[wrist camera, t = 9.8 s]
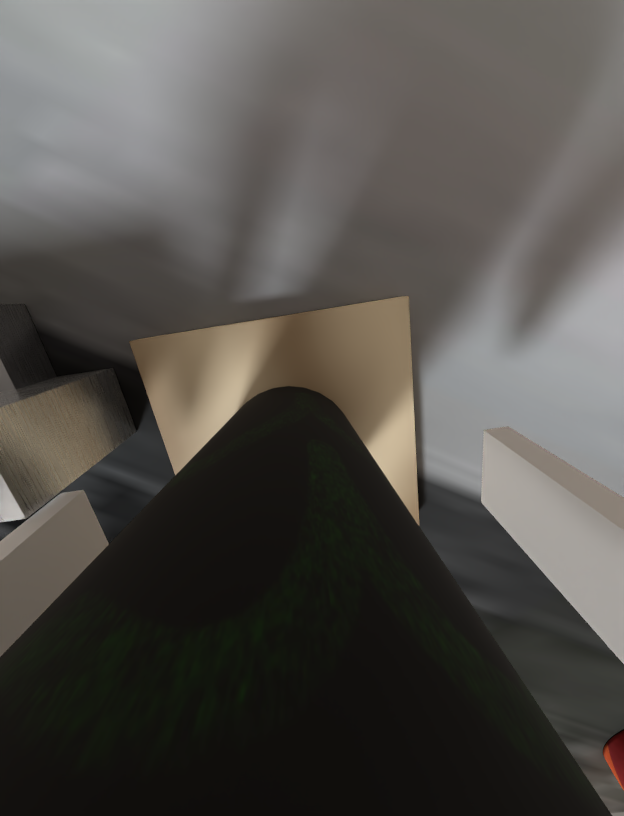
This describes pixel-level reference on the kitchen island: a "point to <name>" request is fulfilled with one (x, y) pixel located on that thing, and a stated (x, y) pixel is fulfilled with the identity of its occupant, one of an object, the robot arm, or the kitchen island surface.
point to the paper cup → (616, 756)
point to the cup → (274, 654)
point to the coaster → (291, 378)
